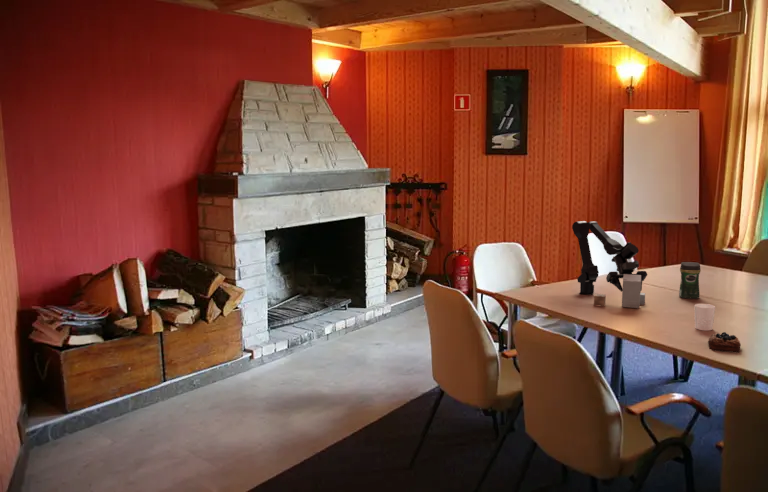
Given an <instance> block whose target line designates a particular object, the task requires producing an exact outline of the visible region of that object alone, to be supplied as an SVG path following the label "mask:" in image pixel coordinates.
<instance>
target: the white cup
mask: <svg viewBox="0 0 768 492" xmlns="http://www.w3.org/2000/svg"><path fill="white" fill-rule="evenodd" d="M715 313H716V306H715V305H713V304H709V303H695V304H694V316H693V317H694V328H695V329H696V330H700V331H708V332H709V331H712V330H713V329H714V328H713V327H714V320H715Z"/></svg>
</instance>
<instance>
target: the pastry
mask: <svg viewBox="0 0 768 492" xmlns="http://www.w3.org/2000/svg"><path fill="white" fill-rule="evenodd" d="M707 345H708V347H709V350H711V351H715V350H716V351H718V352H725V353H727V352H728V353H739V352H740V351H741V341H740V340H739V337H737V336H736V335H734V334H732V335H731V334H729V333H727V332H726V331H725V332H721V333H715V334H714V333H713V334H711V335H710V336H709V338H708V341H707Z"/></svg>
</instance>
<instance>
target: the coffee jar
mask: <svg viewBox="0 0 768 492" xmlns="http://www.w3.org/2000/svg"><path fill="white" fill-rule="evenodd" d="M679 271H680V285H679V291H678V296H679V298H682V299H688V300H690V299H691V300H693V299H695V300H696V299H699V298H700V296H701V295H700V294H701V293H700V282H699V281H700V280H699V279H700V278H699V277H700V274H701V272H702V270H701V265H700V263H699V262H693V261H682V262H680V268H679Z"/></svg>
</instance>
